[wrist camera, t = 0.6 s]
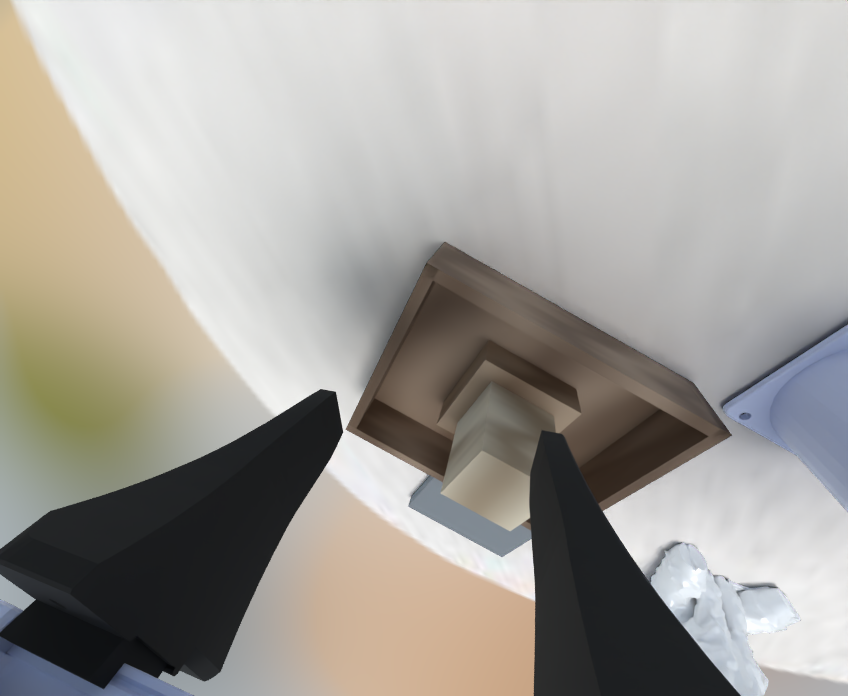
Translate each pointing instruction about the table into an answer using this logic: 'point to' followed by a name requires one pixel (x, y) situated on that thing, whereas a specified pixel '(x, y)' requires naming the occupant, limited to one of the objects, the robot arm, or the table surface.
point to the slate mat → (466, 520)
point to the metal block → (496, 456)
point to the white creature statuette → (722, 614)
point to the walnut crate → (527, 381)
